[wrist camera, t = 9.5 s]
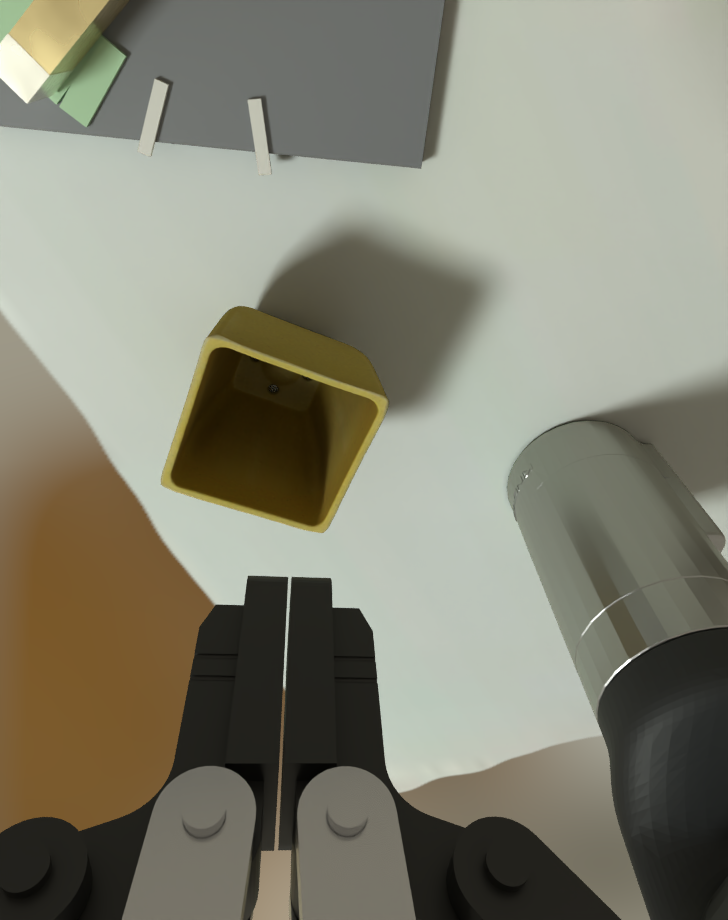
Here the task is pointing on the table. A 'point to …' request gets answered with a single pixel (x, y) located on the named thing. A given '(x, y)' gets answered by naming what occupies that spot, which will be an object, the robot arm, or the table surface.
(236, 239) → the table surface
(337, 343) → the flower pot
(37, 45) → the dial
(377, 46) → the board
